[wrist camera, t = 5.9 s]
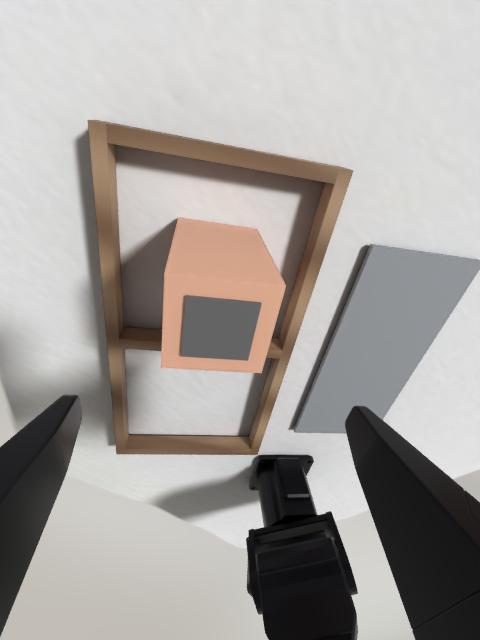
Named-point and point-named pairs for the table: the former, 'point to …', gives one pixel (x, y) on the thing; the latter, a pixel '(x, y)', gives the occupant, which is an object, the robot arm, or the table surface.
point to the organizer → (150, 339)
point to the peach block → (219, 298)
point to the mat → (383, 332)
